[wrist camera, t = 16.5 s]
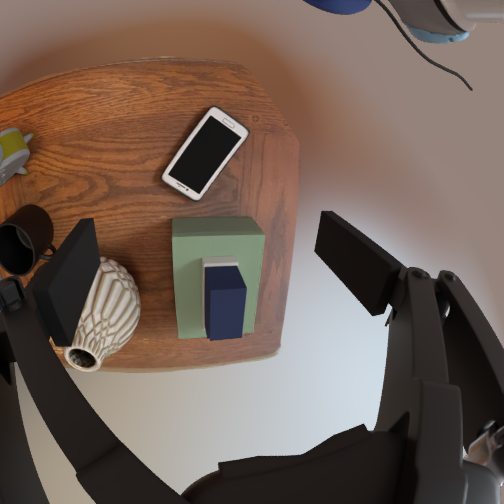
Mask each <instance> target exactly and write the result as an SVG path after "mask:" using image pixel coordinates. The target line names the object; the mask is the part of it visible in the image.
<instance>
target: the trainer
mask: <svg viewBox="0 0 504 504" xmlns="http://www.w3.org/2000/svg"><path fill="white" fill-rule="evenodd" d="M238 263H239V262H238V260H237V258H236V256H225V257H202V325H203V330H206V335H207V338H210V341H212V340H223V339H233V338H242V333H243V323H244V313H245V304H246V294H247V287H246V284H245V282H244V280H243V278H242V275H241V273H240V271H239V269H238Z"/></svg>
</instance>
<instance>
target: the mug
mask: <svg viewBox="0 0 504 504" xmlns="http://www.w3.org/2000/svg"><path fill="white" fill-rule="evenodd" d="M52 240H53V225H52V222H51V220H50V218H49V216H48V214H47V213H46V212H45V211H44V210H43V209H42V208H40V207H38V206H35V205H26V206H24V207H22V208H21V209H19V210H18V211H17V212H16V213H14V214H13V215H12V216H10V217H9V218H8V219H7V220H5V221H4V222H3V223H2V224H1V225H0V265H1V267H2V268H3V269H4V270H5V271H7V272H8V273H10V274H12V275H14V276H25V275H27V274H29V273H30V272H31V271H32V269H33V268H34V267H35V265H36V264H37V262H38V261H39V260H40V259H43V260H51V258H52V257H53V256H54V254H55V253H56V251H57V250H56V248H55V247H54V246H53V245H52V244H51V243H52ZM47 249H51V250H52V252H53V254H52V255H44V253H45V252H46V250H47Z"/></svg>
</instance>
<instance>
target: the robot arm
mask: <svg viewBox="0 0 504 504" xmlns="http://www.w3.org/2000/svg"><path fill="white" fill-rule="evenodd" d="M375 1H376V2H377V3H378V4H379V5H380V6H381V7H382V8H383V9H384V10H385V11H386V12H387V14H388V15H389V16H390V17H391V19H392V21H393V22H394V23H395V25H396V26H397V28H398V29H399V31H400V32H401V33H402V35H403V36H404V37H405V38H406V40H407V41H408V42H409V43H410V44H411V46H412V47H413V48H414V49H415V50H416V51H417V52H418V53H419V54H420V55H421V56H422V57H423V58H424V59H426V60H427V61H428V62H430V63H431V64H433V65H435V66H437V67H439V68H441V69H443V70H445V71H447V72H449V73H452V74H454V75H456V76H457V77H459V78H460V79H461V80H462V81H463V82H464V83H465V84H466V86H467V87H468V88H469V89H470V90H471V91H472V88H471V87H470V85H469V84H468V83H467V82H466V80H465V79H464V78H463V77H462V76H460V75H459V74H458V73H456V72H454V71H452V70H450V69H448V68H445V67H444V66H442V65H440V64H438V63H436V62H434V61H432V60H431V59H429V58H428V57H427V56H426V55H425V54H423V53H422V52H421V51H420V50H419V49H418V48H417V46H416V45H415V44H414V43H413V42H412V41H411V39H410V38H409V37H408V36H407V35H406V33H405V32H404V30H403V29H402V28H401V26H400V25H399V23H398V22H397V20H396V19H395V17H394V16H393V15H392V13H391V12H390V11H389V10H388V8H387V7H386V6H385V5H384V4H383V3H382V2H381V1H380V0H375ZM388 1H389V2H390V3H391V5H392V6H393V8H394V9H395V10H396V12H397V13H398V15H399V16H400V18H401V21H402V22H403V23H404V24H405V25H406V26H407V28H408V29H409V31H410V32H411V34H412V35H413V36H414V37H415V38H417V39H418V40H421V41H423V42H428V43H449V42H458V41H462V40H464V39H466V38H467V37H468V36H469V32H470V31H473V30H474V29H475V27H476V25H477V23H504V0H388ZM314 251H315V253H316V254H317V255H318V256H319V257H320V258H321V259H322V260H323V261H324V262H325V264H326V265H327V266H328V267H329V268H330V269H331V270H332V271H333V272H334V273H335V275H337V277H338V278H339V279H340V280H341V281H342V282H343V283H344V284H345V286H346V287H347V288H348V289H349V290H350V291H351V292H352V294H353V295H354V296H355V297H356V298H357V299H358V300H359V301H360V303H361V304H362V305H363V306H364V307H365V308H366V309H367V311H368V312H369V313H370V314H371V315H372V316H376V315H380V314H384V312H385V310H386V307H387V305H388V303H389V304H390V305H391V306H392V307H393V308H392V310H391V312H390V315H389V317H388V319H387V322H386V324H385V326H387V324H389V336H388V348H387V358H386V367H385V375H384V382H383V389H382V396H381V402H380V407H379V413H378V418H377V422H376V426H375V428H374V430H373V431H368V430H367V428H366V426H365V425H364V424H361V425H359V426H356V427H354V428H351V429H349V430H346V431H343V432H341V433H338V434H335V435H333V436H332V437H330V438H328V439H327V440H325V441H324V442H322V443H321V444H319V445H318V446H316V447H314V448H313V449H311V450H309V451H308V452H306V453H304V454H301V455H291V456H255V457H250V458H245V459H239V460H233V461H226V462H219V463H218V468H219V470H218V471H215V472H212V473H210V474H208V475H206V476H204V477H202V478H200V479H199V480H197V481H195V482H194V483H193V484H191V485H190V486H189V487H188V488H187V489H186V490H185V491H184V492H183V493H182V494H181V495H179V494H178V493H177V492H175V491H174V490H173V489H171V488H170V487H169V486H168V485H167V484H166V483H164V482H163V481H162V480H161V479H160V478H159V477H158V476H156V475H155V474H154V473H153V472H152V471H151V470H150V469H149V468H148V467H147V466H145V465H144V464H143V463H142V462H141V461H140V460H139V459H138V458H137V457H136V456H135V455H134V454H133V453H132V452H131V451H130V450H129V449H128V448H127V447H126V446H125V445H124V444H123V443H122V442H121V441H120V440H119V439H118V438H117V437H116V436H115V435H114V434H113V432H112V431H111V430H110V429H109V428H108V427H107V425H106V424H105V423H104V422H103V421H102V419H101V418H100V417H99V416H98V415H97V413H96V412H95V411H94V409H93V408H92V407H91V405H90V404H89V403H88V402H87V400H86V399H85V397H84V396H83V395H82V393H81V392H80V390H79V389H78V388H77V386H76V385H75V383H74V382H73V380H72V379H71V377H70V376H69V374H68V373H67V371H66V370H65V368H64V366H63V365H62V363H61V361H60V360H59V358H58V356H57V355H56V353H55V351H54V350H53V348H52V346H51V344H50V342H49V339H50V336H51V337H52V339H53V342H54V344H55V346H60V347H72V343H73V340H74V336H75V333H76V330H77V327H78V324H79V320H80V317H81V314H82V311H83V309H84V306H85V303H86V300H87V297H88V295H89V292H90V289H91V287H92V284H93V281H94V279H95V276H96V274H97V271H98V269H99V267H100V264H101V260H100V255H99V250H98V244H97V239H96V232H95V226H94V219H93V218H87V219H81V220H80V221H79V222H78V224H77V225H76V226H75V227H74V229H73V230H72V231H71V232H70V234H69V235H68V236H67V238H66V239H65V240H64V242H63V243H62V244H61V246H60V247H59V249H58V250H57V251H56V253H55V254H54V256H53V257H52V258H51V260H50V261H49V262H45V263H44V264H43V265H42V266H40V267H39V268H38V269H37V271H36V272H35V274H34V276H33V277H32V278H31V280H30V281H29V283H28V284H27V286H26V287H25V289H24V287H23V284H22V282H21V279H20V278H19V277H17V276H10V277H7V278H5V279H3V280H1V281H0V310H1V312H0V504H50V503H49V501H48V499H47V496H46V494H45V492H44V489H43V487H42V484H41V482H40V479H39V477H38V473H37V471H36V468H35V465H34V462H33V459H32V455H31V452H30V448H29V445H28V441H27V438H26V433H25V429H24V425H23V421H22V416H21V410H20V405H19V399H18V392H17V385H16V377H15V367H14V362H17V363H18V366H19V368H20V371H21V374H22V376H23V378H24V381H25V383H26V385H27V387H28V390H29V392H30V394H31V396H32V398H33V400H34V402H35V404H36V406H37V408H38V410H39V412H40V414H41V416H42V418H43V420H44V421H45V423H46V425H47V427H48V428H49V430H50V432H51V434H52V435H53V437H54V438H55V440H56V442H57V443H58V445H59V447H60V448H61V449H62V451H63V453H64V454H65V456H66V457H67V458H68V460H69V461H70V463H71V464H72V465H73V467H74V469H75V470H76V472H77V473H76V477H77V479H78V481H79V482H80V484H81V485H82V487H83V488H84V489H85V491H86V492H87V493H88V494H89V495H90V497H91V498H92V499H93V500H94V501H95V503H96V504H501V498H500V488H501V486H502V485H503V484H504V349H503V347H502V345H501V343H500V341H499V339H498V338H497V336H496V334H495V332H494V331H493V329H492V327H491V326H490V324H489V322H488V321H487V319H486V317H485V316H484V314H483V313H482V311H481V310H480V308H479V306H478V305H477V303H476V302H475V300H474V299H473V297H472V296H471V294H470V293H469V292H468V290H467V289H466V287H465V286H464V284H463V283H462V282H461V280H460V279H459V278H458V277H457V276H456V275H455V274H454V273H453V272H450V271H445V270H442V271H440V273H439V275H438V278H437V279H433V278H431V277H430V275H429V274H428V273H427V272H425V271H424V270H422V269H420V268H416V267H409V268H406V267H405V266H404V265H403V264H402V263H400V262H399V261H398V260H397V259H395V258H394V257H393V256H392V255H390V254H389V253H388V252H387V251H385V250H384V249H383V248H382V247H380V246H379V245H378V244H376V243H375V242H374V241H372V240H371V239H370V238H368V237H367V236H366V235H365V234H363V233H362V232H360V231H359V230H357V229H356V228H355V227H354V226H352V225H351V224H350V223H348V222H347V221H345V220H344V219H343V218H341V217H340V216H338V215H337V214H336V213H334V212H333V211H322V212H321V217H320V223H319V229H318V234H317V240H316V245H315V250H314ZM449 306H450V311H449V314H448V316H447V317H446V315H445V314H446V312H447V310H448V307H449ZM463 446H464V449H465V451H466V453H467V455H466V456H465V457H464V458H463ZM462 458H463V459H462Z"/></svg>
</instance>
